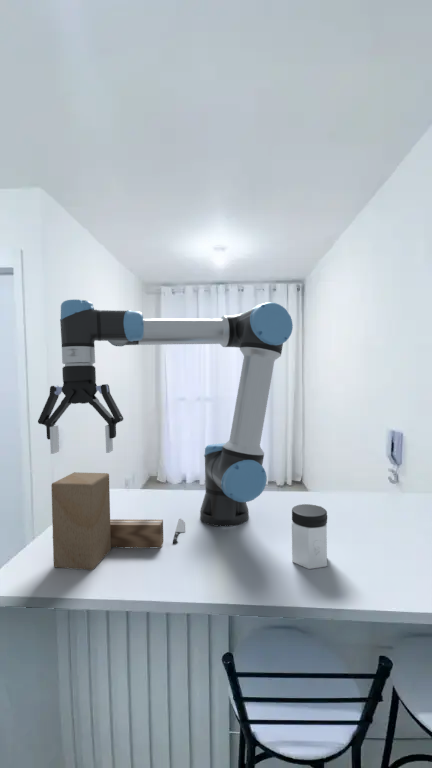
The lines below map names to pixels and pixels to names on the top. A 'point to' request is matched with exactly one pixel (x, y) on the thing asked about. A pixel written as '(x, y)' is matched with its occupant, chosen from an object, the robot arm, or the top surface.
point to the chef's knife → (179, 530)
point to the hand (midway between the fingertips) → (82, 452)
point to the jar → (309, 536)
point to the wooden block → (81, 520)
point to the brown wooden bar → (136, 533)
